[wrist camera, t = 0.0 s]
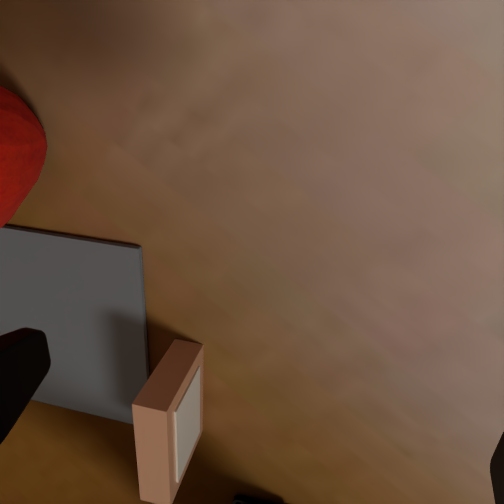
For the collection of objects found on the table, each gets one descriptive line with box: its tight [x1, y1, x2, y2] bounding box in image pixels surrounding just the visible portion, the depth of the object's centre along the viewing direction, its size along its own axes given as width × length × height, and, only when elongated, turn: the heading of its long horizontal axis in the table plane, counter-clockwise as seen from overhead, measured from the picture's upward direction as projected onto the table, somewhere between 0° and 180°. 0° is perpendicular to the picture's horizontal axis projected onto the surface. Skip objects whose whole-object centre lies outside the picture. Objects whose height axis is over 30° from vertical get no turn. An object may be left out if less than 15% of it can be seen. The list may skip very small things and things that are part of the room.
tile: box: [132, 339, 203, 504], centre depth 26 cm, size 8×2×6 cm, turn 177°
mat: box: [0, 225, 150, 424], centre depth 29 cm, size 15×16×1 cm
